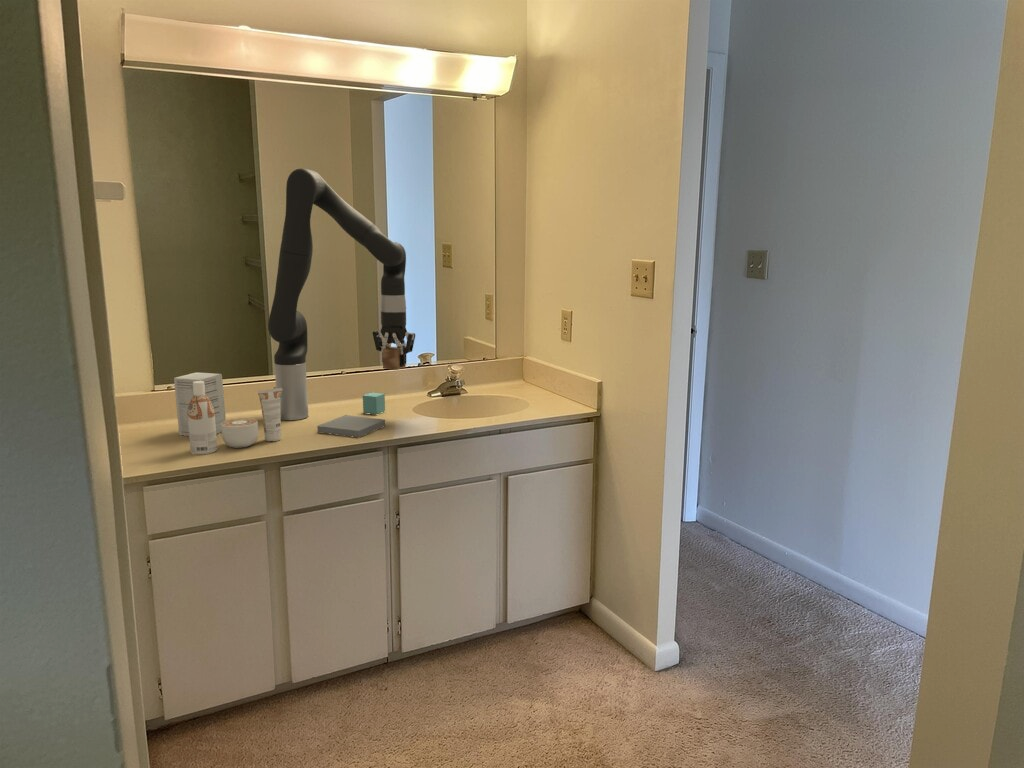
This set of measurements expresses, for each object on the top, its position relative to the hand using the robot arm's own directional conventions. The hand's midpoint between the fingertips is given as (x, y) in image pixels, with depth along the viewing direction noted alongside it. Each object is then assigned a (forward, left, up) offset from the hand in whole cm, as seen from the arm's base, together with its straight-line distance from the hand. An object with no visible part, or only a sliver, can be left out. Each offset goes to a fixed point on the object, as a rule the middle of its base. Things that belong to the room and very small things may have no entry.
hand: (394, 365), depth 226 cm
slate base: (-6, -15, -17) cm, 23 cm away
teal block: (-11, +5, -17) cm, 21 cm away
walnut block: (0, 0, -1) cm, 1 cm away
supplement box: (-43, -35, -17) cm, 58 cm away
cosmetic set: (-24, -41, -17) cm, 51 cm away
